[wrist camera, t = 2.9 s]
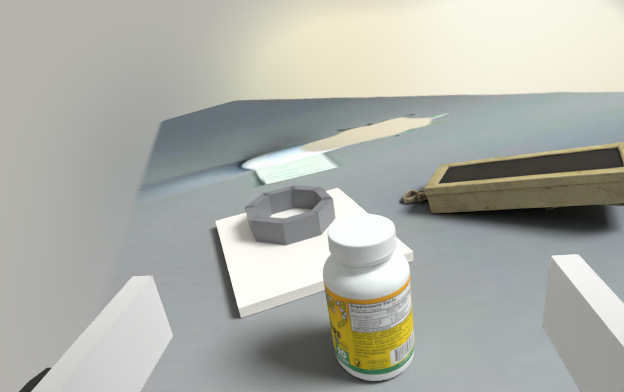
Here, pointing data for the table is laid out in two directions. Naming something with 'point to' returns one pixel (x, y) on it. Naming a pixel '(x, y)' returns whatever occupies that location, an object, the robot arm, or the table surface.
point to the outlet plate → (283, 245)
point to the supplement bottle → (369, 297)
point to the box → (528, 181)
